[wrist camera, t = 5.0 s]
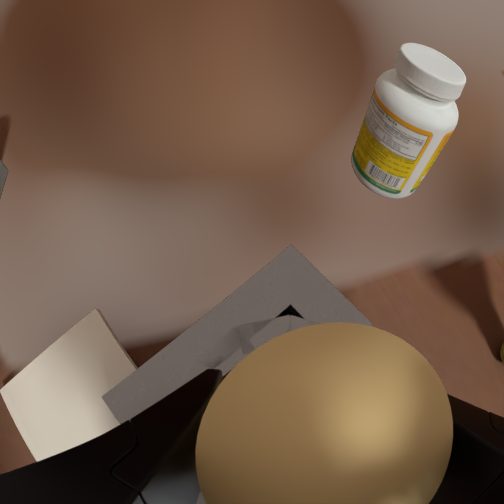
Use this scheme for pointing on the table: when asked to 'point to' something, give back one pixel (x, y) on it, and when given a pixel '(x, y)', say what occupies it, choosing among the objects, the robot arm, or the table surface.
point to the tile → (68, 388)
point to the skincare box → (2, 176)
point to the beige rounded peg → (326, 422)
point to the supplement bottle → (407, 121)
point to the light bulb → (502, 353)
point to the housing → (236, 331)
